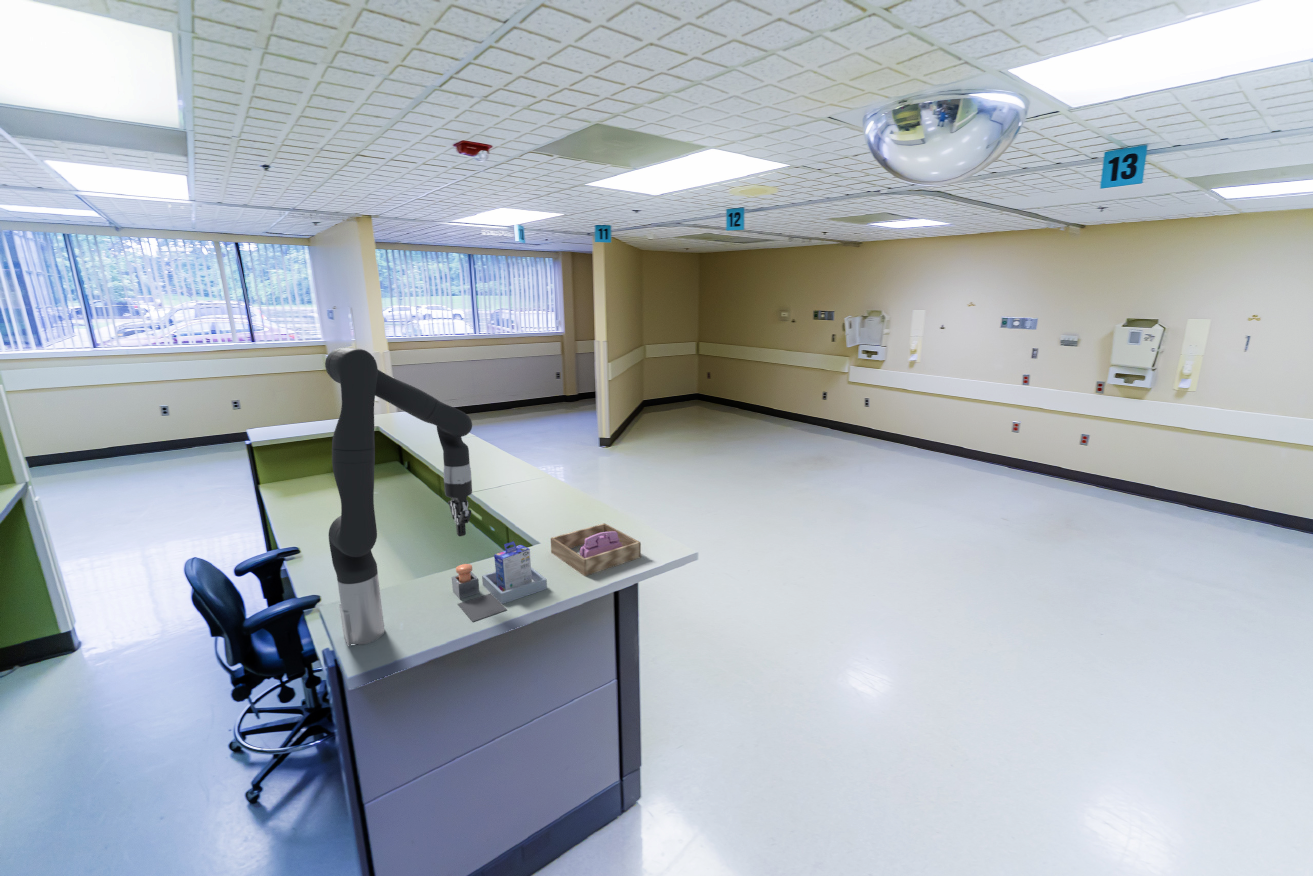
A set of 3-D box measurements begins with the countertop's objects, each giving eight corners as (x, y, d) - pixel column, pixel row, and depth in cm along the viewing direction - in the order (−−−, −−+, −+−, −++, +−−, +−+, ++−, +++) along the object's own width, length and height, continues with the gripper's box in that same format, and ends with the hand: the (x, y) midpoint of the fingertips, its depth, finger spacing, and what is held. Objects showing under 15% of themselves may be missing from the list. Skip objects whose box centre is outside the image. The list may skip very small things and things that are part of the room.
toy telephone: (615, 552, 198) (614, 525, 196) (624, 558, 193) (624, 531, 191) (569, 564, 188) (568, 536, 186) (578, 571, 183) (577, 543, 181)
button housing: (459, 600, 165) (458, 584, 164) (452, 592, 169) (451, 577, 168) (479, 593, 168) (478, 578, 167) (472, 586, 173) (471, 571, 172)
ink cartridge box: (522, 579, 177) (520, 537, 174) (533, 585, 174) (531, 541, 171) (495, 590, 170) (492, 546, 167) (505, 596, 167) (503, 551, 164)
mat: (472, 622, 153) (472, 621, 153) (457, 605, 162) (457, 603, 162) (507, 610, 159) (507, 609, 159) (490, 594, 168) (490, 593, 168)
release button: (461, 597, 166) (459, 572, 164) (455, 591, 169) (453, 566, 167) (476, 592, 168) (474, 568, 167) (470, 586, 172) (468, 562, 170)
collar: (501, 604, 162) (501, 593, 161) (482, 585, 173) (482, 575, 172) (547, 589, 171) (546, 579, 170) (526, 572, 182) (525, 562, 181)
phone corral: (584, 577, 179) (584, 559, 178) (551, 553, 196) (550, 537, 195) (640, 558, 193) (640, 542, 191) (604, 538, 210) (604, 523, 209)
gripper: (437, 476, 164) (441, 531, 167) (452, 486, 154) (456, 545, 157) (462, 472, 168) (465, 526, 172) (479, 482, 158) (482, 539, 162)
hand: (461, 535), depth 165 cm, fingers closed
